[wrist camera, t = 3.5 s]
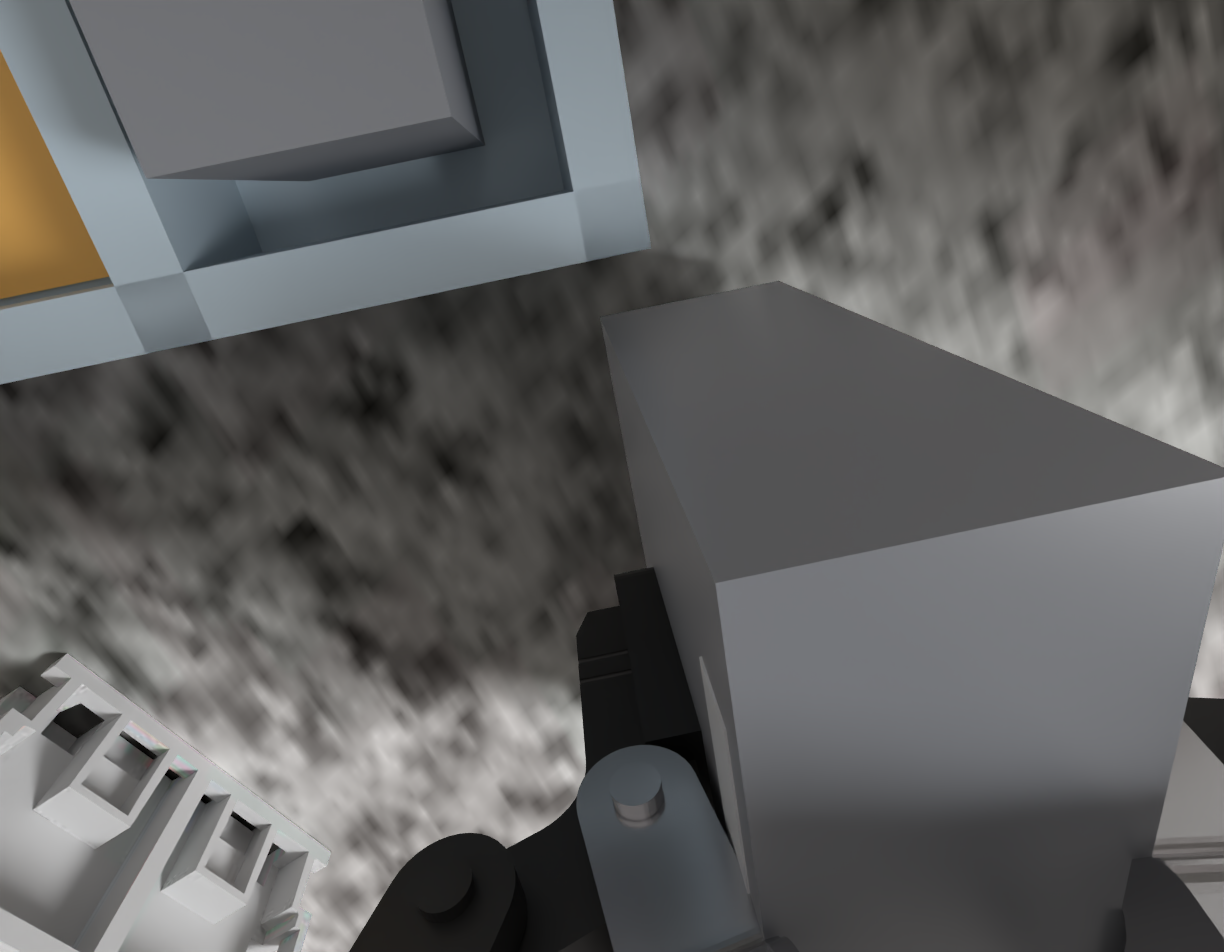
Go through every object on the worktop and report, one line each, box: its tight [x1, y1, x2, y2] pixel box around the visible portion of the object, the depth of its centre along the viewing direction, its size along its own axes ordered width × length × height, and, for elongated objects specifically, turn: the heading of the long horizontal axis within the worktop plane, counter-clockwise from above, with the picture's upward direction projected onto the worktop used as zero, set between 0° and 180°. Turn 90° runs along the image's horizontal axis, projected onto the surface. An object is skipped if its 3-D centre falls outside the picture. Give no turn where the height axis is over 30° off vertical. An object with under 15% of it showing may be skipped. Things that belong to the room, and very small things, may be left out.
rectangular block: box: [600, 281, 1224, 952], centre depth 9 cm, size 3×9×8 cm, turn 10°
